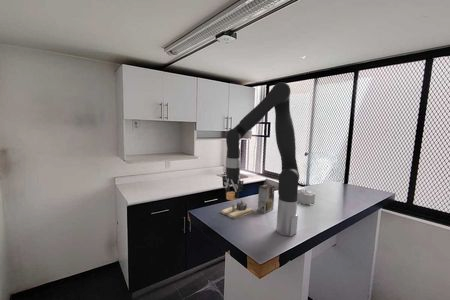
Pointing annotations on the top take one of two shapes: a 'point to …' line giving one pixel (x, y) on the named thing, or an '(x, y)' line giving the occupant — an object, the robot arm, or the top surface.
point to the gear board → (237, 210)
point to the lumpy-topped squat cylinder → (306, 196)
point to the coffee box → (266, 198)
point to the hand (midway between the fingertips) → (231, 196)
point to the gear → (230, 196)
